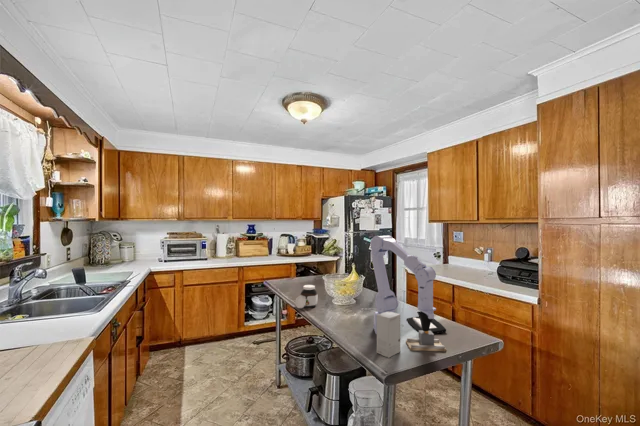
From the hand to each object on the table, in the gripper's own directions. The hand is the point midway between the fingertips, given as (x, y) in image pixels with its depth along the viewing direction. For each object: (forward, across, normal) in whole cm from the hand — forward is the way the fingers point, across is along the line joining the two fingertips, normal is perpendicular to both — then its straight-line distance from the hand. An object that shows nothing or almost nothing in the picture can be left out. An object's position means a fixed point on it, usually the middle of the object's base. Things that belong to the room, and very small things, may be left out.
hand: (425, 330), depth 118 cm
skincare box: (+7, -6, +16) cm, 18 cm away
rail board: (+6, 0, 0) cm, 6 cm away
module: (+6, 0, 0) cm, 6 cm away
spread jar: (+7, +49, +53) cm, 73 cm away
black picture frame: (+7, +23, -7) cm, 25 cm away
